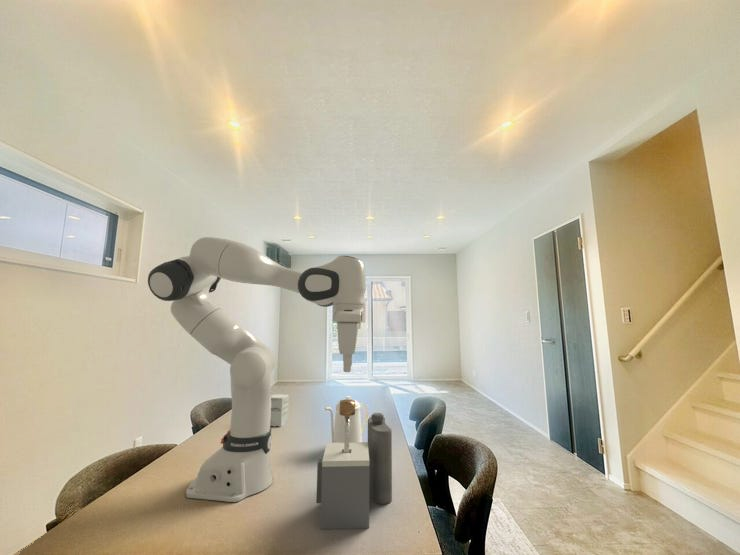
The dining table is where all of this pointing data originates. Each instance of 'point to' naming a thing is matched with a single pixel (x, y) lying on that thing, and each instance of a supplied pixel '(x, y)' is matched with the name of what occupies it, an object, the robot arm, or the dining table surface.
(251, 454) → the robot arm
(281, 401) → the supplement box
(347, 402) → the plunger
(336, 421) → the coffeepot
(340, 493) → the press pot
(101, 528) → the dining table surface
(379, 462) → the flask
